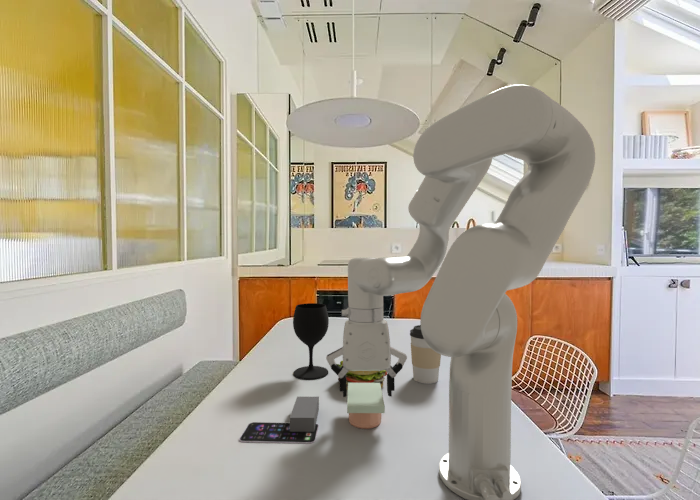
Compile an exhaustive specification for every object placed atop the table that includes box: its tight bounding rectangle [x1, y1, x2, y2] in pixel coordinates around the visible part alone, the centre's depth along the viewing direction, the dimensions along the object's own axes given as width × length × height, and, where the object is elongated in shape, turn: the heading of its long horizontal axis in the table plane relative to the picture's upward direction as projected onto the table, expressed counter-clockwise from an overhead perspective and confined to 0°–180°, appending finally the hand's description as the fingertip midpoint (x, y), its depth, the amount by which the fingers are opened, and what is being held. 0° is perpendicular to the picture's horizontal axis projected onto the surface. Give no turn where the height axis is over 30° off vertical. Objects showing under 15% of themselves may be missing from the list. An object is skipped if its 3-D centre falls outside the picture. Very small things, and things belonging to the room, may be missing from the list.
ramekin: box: [348, 413, 382, 430], centre depth 78 cm, size 7×7×4 cm
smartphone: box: [239, 421, 320, 445], centre depth 73 cm, size 8×1×15 cm
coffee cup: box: [409, 324, 442, 384], centre depth 102 cm, size 9×9×15 cm
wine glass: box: [292, 302, 330, 381], centre depth 106 cm, size 10×10×20 cm
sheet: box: [346, 383, 386, 414], centre depth 78 cm, size 12×8×1 cm, turn 0°
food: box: [336, 360, 388, 391], centre depth 98 cm, size 14×14×8 cm
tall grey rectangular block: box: [289, 396, 320, 432], centre depth 78 cm, size 10×5×3 cm, turn 179°
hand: (367, 394), depth 78 cm, fingers open, 9 cm apart
